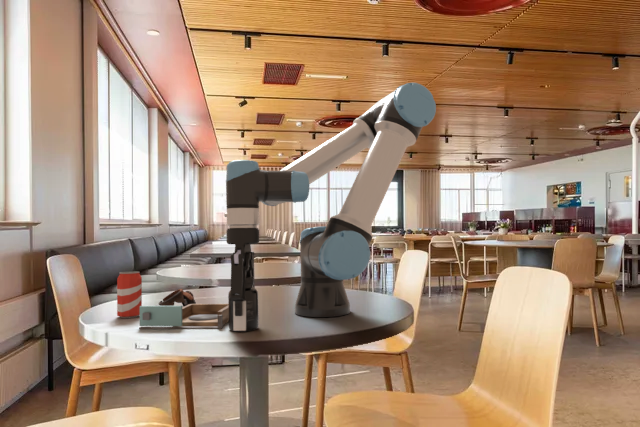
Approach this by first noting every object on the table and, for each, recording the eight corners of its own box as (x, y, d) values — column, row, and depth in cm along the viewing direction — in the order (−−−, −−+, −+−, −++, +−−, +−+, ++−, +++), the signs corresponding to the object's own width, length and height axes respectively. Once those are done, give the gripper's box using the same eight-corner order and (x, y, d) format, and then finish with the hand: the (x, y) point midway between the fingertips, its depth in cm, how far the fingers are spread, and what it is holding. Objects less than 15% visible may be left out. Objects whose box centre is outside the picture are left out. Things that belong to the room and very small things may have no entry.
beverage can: (111, 318, 121) (111, 273, 122) (127, 314, 127) (127, 271, 128) (131, 319, 120) (131, 273, 120) (146, 314, 126) (146, 271, 126)
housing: (236, 317, 121) (236, 303, 121) (221, 328, 106) (221, 313, 106) (164, 317, 122) (164, 304, 122) (139, 328, 107) (139, 313, 107)
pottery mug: (195, 320, 119) (178, 294, 118) (166, 335, 121) (148, 310, 119) (208, 301, 131) (193, 277, 130) (181, 315, 133) (166, 292, 131)
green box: (182, 325, 108) (182, 305, 108) (179, 326, 106) (179, 306, 106) (141, 325, 108) (141, 305, 108) (137, 327, 106) (137, 307, 107)
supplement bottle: (262, 326, 108) (262, 275, 108) (252, 332, 101) (252, 278, 102) (235, 325, 109) (235, 275, 110) (223, 331, 103) (223, 278, 103)
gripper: (237, 227, 116) (237, 318, 115) (214, 226, 97) (215, 336, 96) (266, 227, 116) (267, 318, 115) (249, 226, 96) (250, 336, 95)
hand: (243, 326), depth 105 cm, fingers closed on supplement bottle, 7 cm apart
